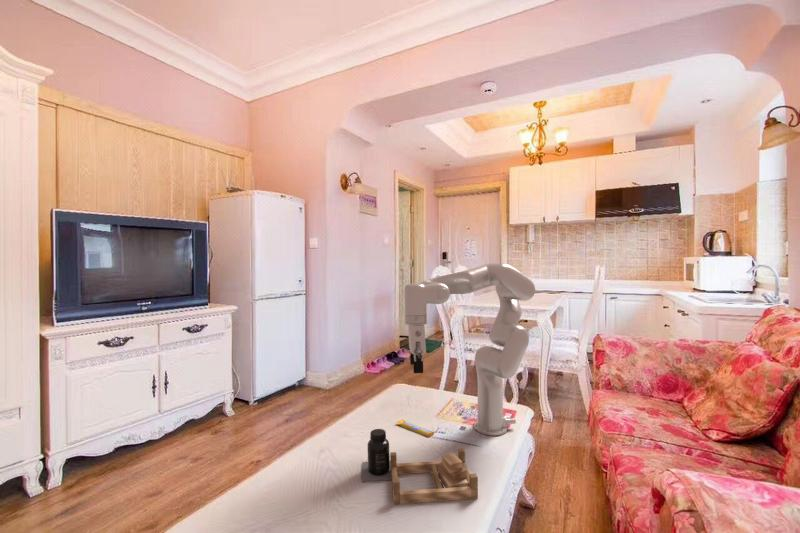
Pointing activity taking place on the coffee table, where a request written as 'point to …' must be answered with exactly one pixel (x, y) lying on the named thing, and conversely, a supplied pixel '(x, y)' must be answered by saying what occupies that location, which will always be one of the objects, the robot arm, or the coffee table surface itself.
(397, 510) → the coffee table surface
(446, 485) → the offcut
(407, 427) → the candy bar
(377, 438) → the supplement bottle
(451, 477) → the offcut
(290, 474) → the coffee table surface
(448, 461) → the offcut
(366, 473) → the mat
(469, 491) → the rack
